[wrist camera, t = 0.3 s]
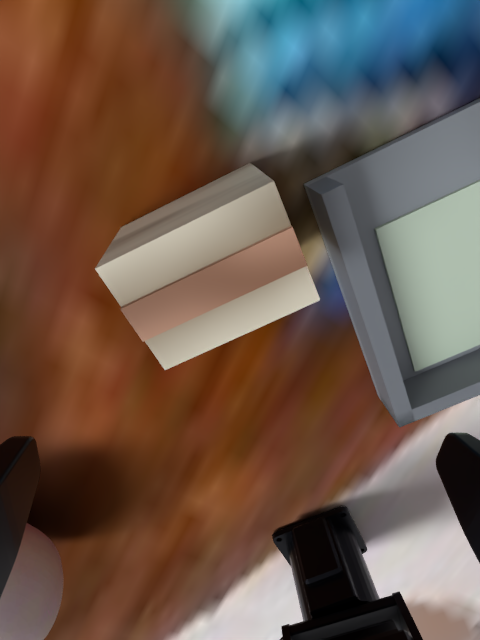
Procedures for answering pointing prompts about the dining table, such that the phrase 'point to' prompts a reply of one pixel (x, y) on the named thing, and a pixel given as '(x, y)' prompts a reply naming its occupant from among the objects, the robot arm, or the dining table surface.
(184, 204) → the birch block
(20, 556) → the decorative fruit
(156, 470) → the dining table surface
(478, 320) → the corner arena
